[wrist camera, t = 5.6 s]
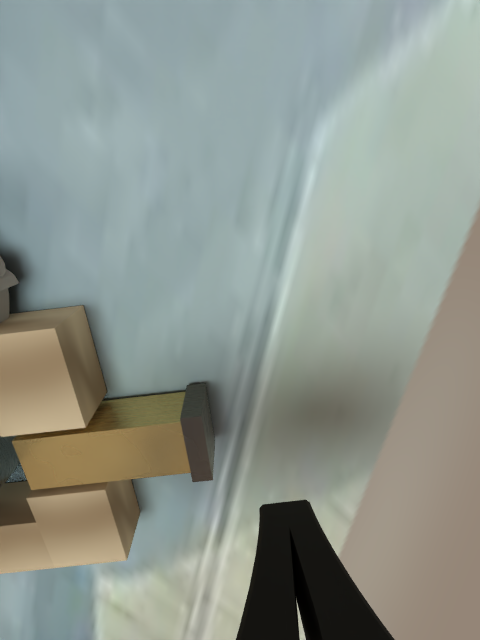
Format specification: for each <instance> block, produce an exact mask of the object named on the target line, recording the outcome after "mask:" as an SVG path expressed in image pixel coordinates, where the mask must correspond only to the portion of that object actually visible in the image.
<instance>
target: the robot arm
mask: <svg viewBox="0 0 480 640" xmlns="http://www.w3.org/2000/svg"><path fill="white" fill-rule="evenodd" d="M296 598H297V603H298V607H299V611H300V615H301V620H302V624H303V628H304V632H305V637H306V640H394V638H393V637H392V636H391V634H390V633H389V632H388V630H387V629H386V628H385V626H384V625H383V624H382V622H381V621H380V619H379V618H378V617H377V616H376V614H375V613H374V611H373V610H372V608H371V607H370V605H369V604H368V603H367V601H366V600H365V598H364V597H363V595H362V594H361V592H360V591H359V589H358V588H357V586H356V585H355V583H354V582H353V580H352V579H351V577H350V576H349V574H348V572H347V571H346V569H345V568H344V566H343V564H342V563H341V561H340V560H339V558H338V556H337V555H336V553H335V551H334V550H333V548H332V546H331V544H330V543H329V541H328V539H327V537H326V535H325V534H324V532H323V530H322V528H321V526H320V524H319V522H318V520H317V518H316V516H315V514H314V511H313V509H312V507H311V504H310V502H308V501H307V500H299V501H290V502H281V503H273V504H264V505H262V506H261V507H260V523H259V535H258V543H257V550H256V556H255V562H254V567H253V572H252V577H251V582H250V587H249V591H248V595H247V599H246V603H245V608H244V612H243V616H242V620H241V624H240V627H239V631H238V634H237V638H236V640H300V639H299V627H298V615H297V603H296Z"/></svg>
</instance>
